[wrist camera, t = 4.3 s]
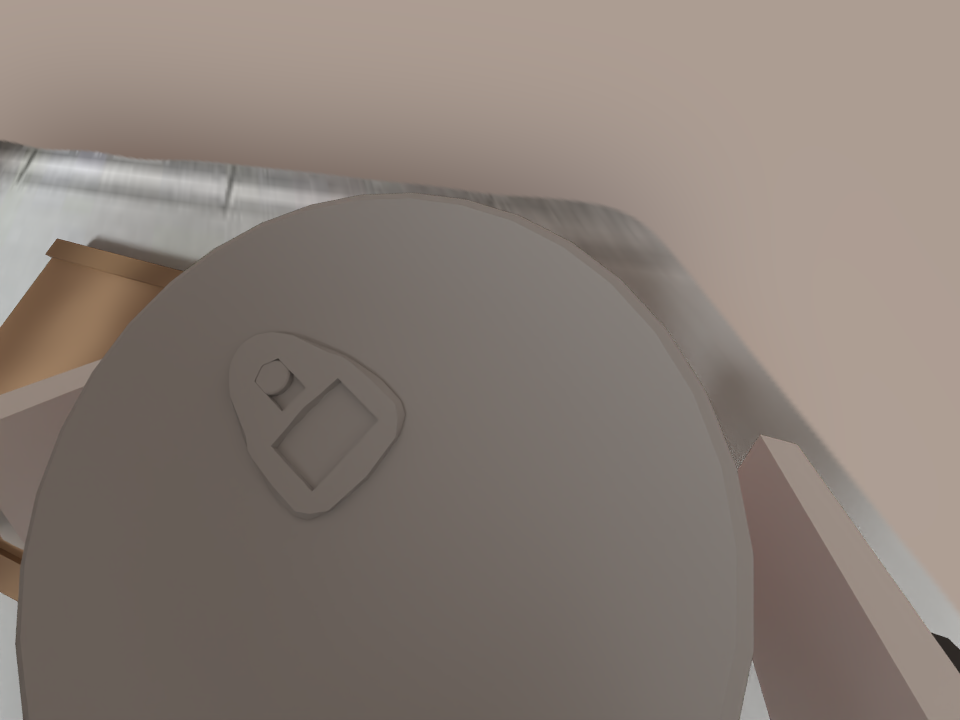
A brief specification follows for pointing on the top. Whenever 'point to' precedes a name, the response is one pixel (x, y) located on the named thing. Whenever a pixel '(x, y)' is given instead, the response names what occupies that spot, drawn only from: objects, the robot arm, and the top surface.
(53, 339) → the trivet
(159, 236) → the top surface
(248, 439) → the canned food
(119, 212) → the top surface
